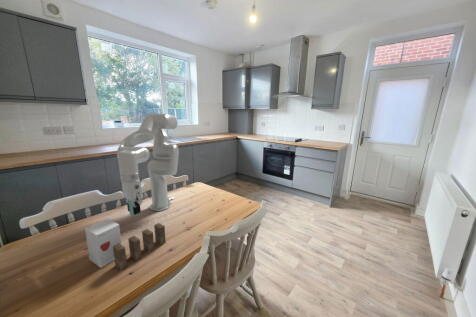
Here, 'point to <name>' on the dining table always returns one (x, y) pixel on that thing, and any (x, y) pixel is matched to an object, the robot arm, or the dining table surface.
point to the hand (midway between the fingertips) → (134, 211)
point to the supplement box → (102, 241)
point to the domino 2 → (132, 208)
